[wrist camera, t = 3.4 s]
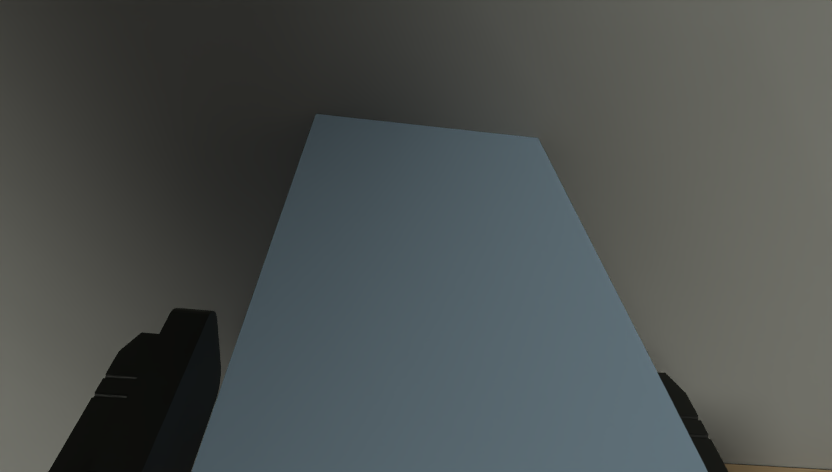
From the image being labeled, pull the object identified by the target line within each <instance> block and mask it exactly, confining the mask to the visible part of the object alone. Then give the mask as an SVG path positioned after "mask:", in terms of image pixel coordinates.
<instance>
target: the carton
mask: <svg viewBox="0 0 832 472" xmlns="http://www.w3.org/2000/svg"><path fill="white" fill-rule="evenodd" d="M192 472H708V471H707V469H706V467H705V465H704V463H703V461H702V459H701V457H700V455H699V453H698V451H697V449H696V448H695V446H694V444H693V442H692V440H691V438H690V436H689V434H688V432H687V430H686V428H685V426H684V424H683V422H682V420H681V418H680V416H679V414H678V412H677V410H676V408H675V406H674V404H673V402H672V400H671V398H670V396H669V394H668V392H667V391H666V389H665V387H664V385H663V383H662V381H661V379H660V377H659V375H658V373H657V371H656V369H655V367H654V365H653V363H652V361H651V359H650V357H649V355H648V353H647V351H646V349H645V347H644V345H643V343H642V341H641V339H640V337H639V335H638V333H637V332H636V330H635V328H634V326H633V324H632V322H631V320H630V318H629V316H628V314H627V312H626V310H625V308H624V306H623V304H622V302H621V300H620V298H619V296H618V294H617V292H616V290H615V288H614V286H613V284H612V282H611V280H610V278H609V276H608V274H607V273H606V271H605V269H604V267H603V265H602V263H601V261H600V259H599V257H598V255H597V253H596V251H595V249H594V247H593V245H592V243H591V241H590V239H589V237H588V235H587V233H586V231H585V229H584V227H583V225H582V223H581V221H580V219H579V217H578V216H577V214H576V212H575V210H574V208H573V206H572V204H571V202H570V200H569V198H568V196H567V194H566V192H565V190H564V188H563V186H562V184H561V182H560V180H559V178H558V176H557V174H556V172H555V170H554V168H553V166H552V164H551V162H550V160H549V158H548V157H547V155H546V153H545V151H544V149H543V147H542V145H541V143H540V141H539V139H538V138H533V137H524V136H515V135H506V134H497V133H487V132H478V131H469V130H460V129H451V128H442V127H432V126H423V125H414V124H405V123H396V122H386V121H377V120H368V119H359V118H350V117H341V116H331V115H322V114H316V115H315V118H314V121H313V123H312V126H311V129H310V132H309V135H308V138H307V141H306V144H305V146H304V149H303V152H302V155H301V158H300V161H299V164H298V167H297V169H296V172H295V175H294V178H293V181H292V184H291V187H290V190H289V193H288V195H287V198H286V201H285V204H284V207H283V210H282V213H281V216H280V218H279V221H278V224H277V227H276V230H275V233H274V236H273V239H272V242H271V244H270V247H269V250H268V253H267V256H266V259H265V262H264V265H263V267H262V270H261V273H260V276H259V279H258V282H257V285H256V288H255V290H254V293H253V296H252V299H251V302H250V305H249V308H248V311H247V314H246V316H245V319H244V322H243V325H242V328H241V331H240V334H239V337H238V339H237V342H236V345H235V348H234V351H233V354H232V357H231V360H230V362H229V365H228V368H227V371H226V374H225V377H224V380H223V383H222V386H221V388H220V391H219V394H218V397H217V400H216V403H215V406H214V409H213V411H212V414H211V417H210V420H209V423H208V426H207V429H206V432H205V434H204V437H203V440H202V443H201V446H200V449H199V452H198V455H197V458H196V460H195V463H194V466H193V469H192Z"/></svg>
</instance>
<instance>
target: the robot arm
mask: <svg viewBox="0 0 832 472" xmlns="http://www.w3.org/2000/svg"><path fill="white" fill-rule="evenodd" d="M658 375H659V377H660V379H661V381H662V383H663V385H664V387H665V389H666V391H667V392H668V394H669V396H670V398H671V400H672V402H673V404H674V406H675V408H676V410H677V412H678V414H679V416H680V418H681V420H682V422H683V424H684V426H685V428H686V430H687V432H688V434H689V436H690V438H691V440H692V442H693V444H694V446H695V448H696V449H697V451H698V453H699V455H700V457H701V459H702V461H703V463H704V465H705V467H706V469H707V471H708V472H728V470H727V468H726V466H725V464H724V463H723V461H722V459H721V457H720V455H719V453H718V452H717V450H716V448H715V446H714V444H713V442H712V441H711V439H708V433H707V431H706V430H705V428H704V426H703V424H702V422H701V420H698V415H697V413H696V411H695V409H694V408H693V406H692V404H691V402H690V400H689V398H688V396H687V395H686V393H685V392H684V391H683V390H682V389H681V388H680V387H679V386H678V385H677V384H676V383H675V382H674V381H673V380H672V379H671V378H670V377H669V376H668V375H667V374H666V373H658ZM220 376H221V362H220V350H219V337H218V325H217V316H216V313H215V311H208V310H195V309H182V308H174V309H173V310H172V311H171V313H170V314H169V316H168V318H167V320H166V322H165V324H164V326H163V328H162V330H161V332H160V334H153V333H141V334H139V335H138V336H137V337H136V338H135V339H133V340H132V341H131V342H130V343H128V344H127V345H126V346H125V347H124V348H122V349H121V350H120V351H119V352H118V354H117V355H116V357H115V359H114V361H113V362H112V364H111V366H110V367H109V369H108V371H107V373H106V377H105V378H103V379H102V381H101V383H100V385H99V386H98V388H97V390H96V391H95V396H94V398H91V400H90V402H89V403H88V405H87V407H86V409H85V410H84V412H83V414H82V415H81V417H80V419H79V421H78V422H77V424H76V426H75V427H74V429H73V431H72V433H71V434H70V436H69V438H68V439H67V441H66V443H65V445H64V446H63V448H62V450H61V451H60V453H59V455H58V457H57V458H56V460H55V462H54V463H53V465H52V467H51V468H50V470H49V471H48V472H191V470H192V467H193V464H194V461H195V458H196V455H197V453H198V450H199V447H200V444H201V441H202V438H203V435H204V432H205V430H206V427H207V424H208V421H209V418H210V415H211V412H212V409H213V407H214V404H215V401H216V398H217V394H218V390H219V384H220Z"/></svg>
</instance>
